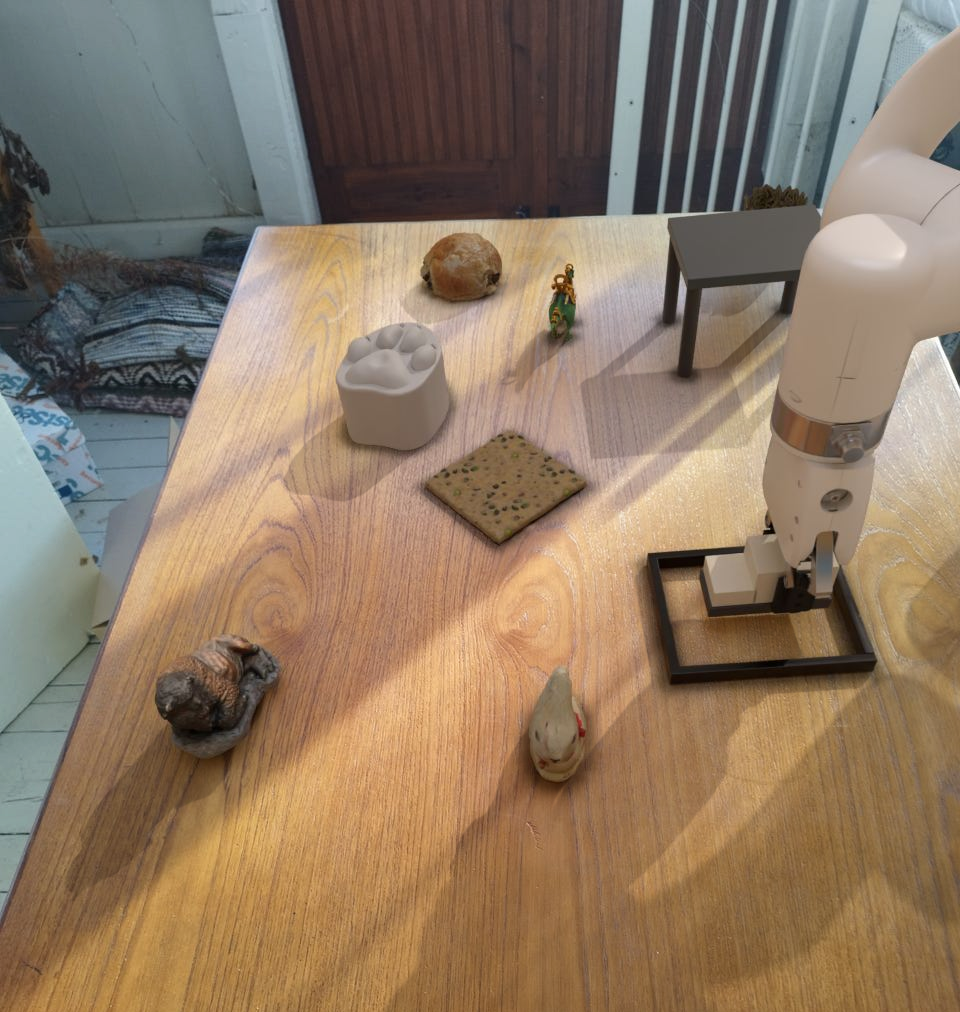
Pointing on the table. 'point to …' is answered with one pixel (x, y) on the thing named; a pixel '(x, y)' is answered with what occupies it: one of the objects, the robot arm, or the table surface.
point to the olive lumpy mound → (774, 198)
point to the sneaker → (749, 579)
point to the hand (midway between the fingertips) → (783, 584)
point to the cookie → (504, 485)
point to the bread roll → (462, 267)
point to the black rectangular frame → (754, 669)
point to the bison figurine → (214, 693)
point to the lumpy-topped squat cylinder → (394, 387)
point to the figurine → (563, 302)
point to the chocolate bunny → (557, 729)
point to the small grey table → (733, 259)
